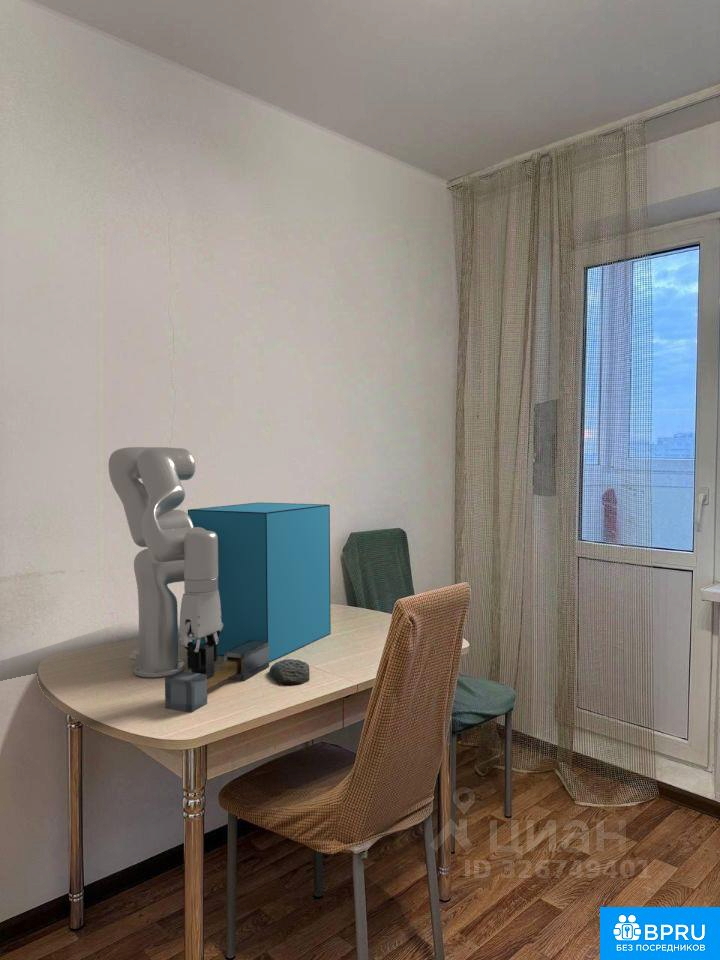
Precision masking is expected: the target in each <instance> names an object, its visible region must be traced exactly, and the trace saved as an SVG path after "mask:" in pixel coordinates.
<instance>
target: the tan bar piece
mask: <svg viewBox="0 0 720 960" xmlns="http://www.w3.org/2000/svg"><path fill="white" fill-rule="evenodd" d="M199 651H200V652H201V669H199V670H195V669H190V672H193V673H200V674H207V690H208V689H209V688H211V687H213V686H215V685H218V683H221V682H222V681H224V680H226V679H227V678H228V677H230V676H232V675H234V674H236V673H238V672H240V671H241V658H235V657H233V658H231V659H229V660H226V661H223V662H221V663H217V664H216V665H215V662H214V646H212V645H204V644H200V646H199Z"/></svg>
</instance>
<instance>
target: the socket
mask: <svg viewBox="0 0 720 960" xmlns="http://www.w3.org/2000/svg"><path fill="white" fill-rule="evenodd" d="M164 699H165V700H164V701H165V702H164V703H165V705H164V708H165V709H171V710H175V711H182V712H186V713H187V712H188V713H193V712H195V711H197V710H198V709H201V708H202V707H204V706H206V705H207V704H208V689H207V674H200V673H193V672H191V671H185V670H182V671H179V672H177V673H175V674H173V675H169V676H165V678H164Z"/></svg>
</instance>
